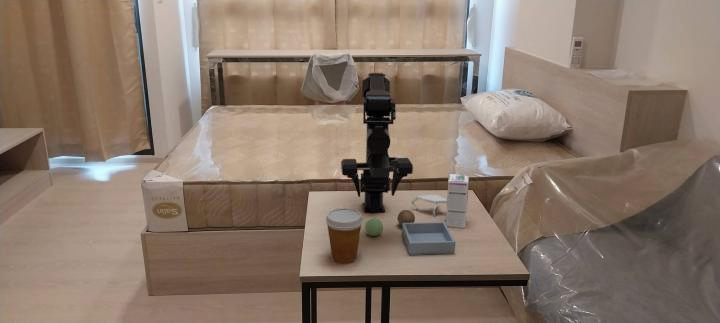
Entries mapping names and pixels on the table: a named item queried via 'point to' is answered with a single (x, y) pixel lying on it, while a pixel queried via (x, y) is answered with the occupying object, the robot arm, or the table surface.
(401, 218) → the walnut ball
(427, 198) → the origami figure
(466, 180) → the syrup box
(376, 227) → the green ball
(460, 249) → the table surface
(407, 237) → the bin
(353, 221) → the disposable coffee cup
